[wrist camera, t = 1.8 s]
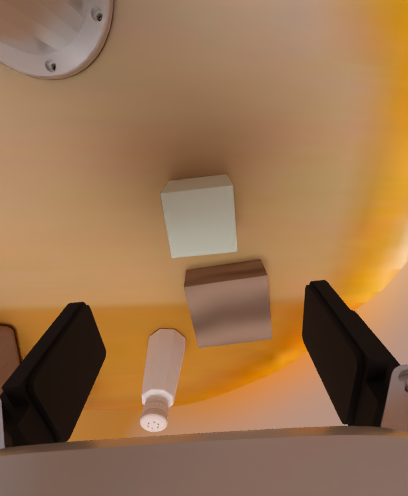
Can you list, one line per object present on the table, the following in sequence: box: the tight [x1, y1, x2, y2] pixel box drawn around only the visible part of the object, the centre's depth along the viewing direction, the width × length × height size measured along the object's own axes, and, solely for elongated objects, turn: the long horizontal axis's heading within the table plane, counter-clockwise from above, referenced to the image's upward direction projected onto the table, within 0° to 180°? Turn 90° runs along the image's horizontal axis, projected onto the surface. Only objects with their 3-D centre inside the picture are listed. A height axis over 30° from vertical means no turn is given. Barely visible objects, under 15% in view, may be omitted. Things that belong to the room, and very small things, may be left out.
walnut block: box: [184, 259, 272, 348], centre depth 30 cm, size 9×9×4 cm
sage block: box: [160, 174, 237, 258], centre depth 24 cm, size 6×6×6 cm
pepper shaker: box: [140, 329, 185, 432], centre depth 30 cm, size 5×5×11 cm
